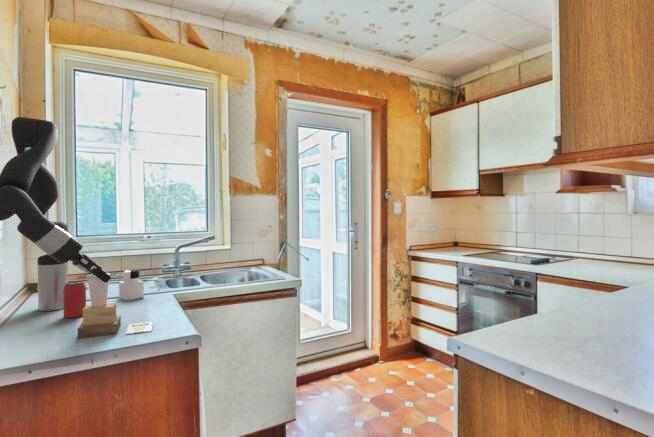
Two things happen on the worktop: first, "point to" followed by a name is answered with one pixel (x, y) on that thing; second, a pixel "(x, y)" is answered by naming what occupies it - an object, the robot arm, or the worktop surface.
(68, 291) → the beer can
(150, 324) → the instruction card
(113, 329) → the base slab
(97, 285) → the smoothie
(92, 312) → the oak brick
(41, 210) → the robot arm
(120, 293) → the medicine bottle
